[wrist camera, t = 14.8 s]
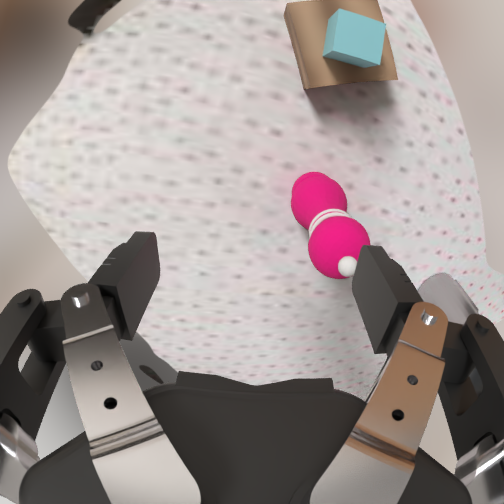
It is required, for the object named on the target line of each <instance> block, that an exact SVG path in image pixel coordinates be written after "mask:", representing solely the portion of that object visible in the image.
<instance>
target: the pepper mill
mask: <svg viewBox="0 0 504 504" xmlns="http://www.w3.org/2000/svg"><path fill="white" fill-rule="evenodd" d="M291 208H292V212H293V214H294V216H295V218H296V220H297V221H298V222H299V224H301V225H302V226H303V227H304V228H306V229H308V230H309V238H310V239H309V243H308V251H309V255H310V259H311V261H312V263H313V265H314V266H315V268H316V269H317V270H318V271H319V272H321V273H322V274H324V275H325V276H327V277H330V278H335V279H343V278H348V277H351V276H353V275H354V273H355V269H356V265H357V261H358V257H359V254H360V250H361V248H362V246H363V245H370V239H369V236H368V234H367V232H366V230H365V228H364V227H363V226H362V225H361V224H360V223H359V222H357V221H356V220H355V219H352V218H351V216H350V215H349V214H348V213H346V211H347V199H346V196H345V193H344V191H343V189H342V188H341V186H340V185H339V184H338V183H337V182H336V181H334V180H332V179H330V178H329V177H328V176H326V175H325V174H322V173H319V172H309V173H306V174H304V175H302V176H301V177H299V178H298V179H297V180H296V182H295V183H294V186H293V188H292V199H291Z"/></svg>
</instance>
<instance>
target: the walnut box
mask: <svg viewBox="0 0 504 504" xmlns="http://www.w3.org/2000/svg"><path fill="white" fill-rule="evenodd" d="M338 9H343V10H346V11H350V12H353V13H356V14H359V15H362V16H365V17H368V18H371V19H374V20H377V21H380V22H382V23H384V20H383V17H382V14H381V10H380V7H379V4H378V1H377V0H311V1H301V2H293V3H287V5H286V9H285V12H284V19H285V22H286V25H287V28H288V32H289V35H290V39H291V42H292V46H293V49H294V53H295V57H296V60H297V64H298V68H299V72H300V76H301V80H302V84H303V88H304V89H309V88H316V87H323V86H330V85H338V84H347V83H357V82H368V81H383V80H398V77H397V72H396V67H395V63H394V58H393V54H392V50H391V46H390V42H389V38H388V34H387V31H386V28H385V35H384V42H383V49H382V56H381V62H380V65H377V66H372V67H367V68H362V67H359V66H356V65H352V64H349V63H345V62H342V61H338V60H334V59H330V58H326V57H322V56H323V50H324V44H325V38H326V32H327V25H328V19H329V18H330V17H331V16H332V15H333V14H334V13H335V12H336V11H337V10H338Z"/></svg>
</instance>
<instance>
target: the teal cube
mask: <svg viewBox="0 0 504 504" xmlns="http://www.w3.org/2000/svg"><path fill="white" fill-rule="evenodd" d="M385 28H386V24H385V23H382V22H380V21H377V20H374V19H371V18H368V17H365V16H362V15H359V14H356V13H353V12H350V11H346V10H343V9H338V10H337V11H336V12H335V13H334V14H333V15H332V16H331V17H330V18H329V19H328V25H327V32H326V38H325V44H324V50H323V56H322V57H326V58H330V59H334V60H338V61H342V62H345V63H349V64H352V65H356V66H359V67H362V68H367V67H372V66H377V65H380V62H381V56H382V49H383V42H384V35H385Z"/></svg>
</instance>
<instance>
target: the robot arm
mask: <svg viewBox="0 0 504 504" xmlns="http://www.w3.org/2000/svg"><path fill="white" fill-rule="evenodd" d="M159 278H160V263H159V255H158V247H157V239H156V235H155V233H154V232H135V233H134V234H133V235H132V237H131V238H130V239H129V240H128V242H127V243H122V244H121V245H119V246H118V247H116V248H115V249H113V250H112V252H111V253H110V254H109V255H108V257H107V258H106V259H105V261H104V262H103V265H101V266H100V267H99V268H98V270H97V271H96V272H95V274H94V275H93V276H92V278H91V279H90V280H89V282H88V283H83V284H78V285H75V286H73V287H71V288H69V289H68V290H67V291H66V292H65V293H64V294H63V295H62V298H61V300H55V301H45V302H44V301H43V298H42V295H41V293H40V292H39V291H38V290H36V289H27V290H24V291H22V292H20V293H18V294H16V295H15V296H14V297H13V298H12V299H11V300H10V302H9V303H8V304H7V306H6V307H5V308H4V310H3V311H2V313H1V314H0V495H1V496H3V497H5V498H7V499H9V500H11V501H12V502H14V503H16V504H504V341H503V339H502V337H501V336H500V334H499V333H498V331H497V329H496V328H495V326H494V324H493V323H492V322H491V321H490V320H489V319H487V318H486V317H484V316H482V315H479V314H478V308H477V307H476V305H475V304H474V303H473V301H472V300H471V299H470V297H469V296H468V295H467V293H466V292H465V291H464V289H463V288H462V287H461V285H460V284H459V283H458V281H457V280H453V278H452V277H451V276H450V275H448V274H446V273H440V274H436V275H434V276H432V277H430V278H429V279H428V280H426V281H425V282H424V283H423V284H422V285H421V287H420V288H419V290H418V291H417V290H416V288H415V286H414V285H413V283H411V280H410V279H409V277H408V276H407V274H406V272H405V271H404V269H403V268H402V266H400V265H399V264H398V263H397V262H395V261H394V260H393V259H390V258H389V256H388V255H387V253H386V252H385V250H384V249H383V247H382V246H373V245H363V246H362V248H361V250H360V254H359V257H358V261H357V265H356V269H355V273H354V276H353V281H352V291H353V295H354V297H355V300H356V303H357V305H358V308H359V311H360V313H361V316H362V319H363V322H364V324H365V327H366V330H367V333H368V336H369V339H370V341H371V344H372V347H373V350H374V353H375V354H382V353H387V356H388V357H387V359H386V361H385V363H384V365H383V367H382V369H381V371H380V372H379V374H378V376H377V378H376V380H375V382H374V384H373V386H372V387H371V389H370V391H369V393H368V395H367V396H366V398H365V400H364V401H363V400H362V399H360V398H358V397H356V396H354V395H352V394H349V393H347V392H344V391H340V390H336V389H334V387H333V381H332V378H318V379H291V380H287V381H282V382H276V383H271V384H265V385H259V386H254V385H249V384H246V383H242V382H238V381H235V380H231V379H228V378H224V377H221V376H218V375H210V374H200V373H191V372H183V371H179V372H178V376H177V381H176V382H170V383H165V384H160V385H157V386H154V387H151V388H149V389H146V390H145V391H143V392H142V391H141V388H140V386H139V384H138V382H137V380H136V378H135V376H134V374H133V372H132V369H131V367H130V365H129V363H128V361H127V358H126V356H125V354H124V351H123V349H122V347H121V344H120V339H125V340H131V341H132V340H133V337H134V335H135V333H136V330H137V328H138V326H139V323H140V321H141V319H142V317H143V314H144V312H145V310H146V308H147V305H148V303H149V301H150V299H151V297H152V294H153V292H154V290H155V288H156V286H157V284H158V281H159ZM26 345H28V346H29V348H30V350H31V351H32V352H31V354H30V356H29V357H28V360H27V361H26V363H25V365H24V367H23V369H22V371H21V373H20V371H19V368H18V361H19V357H20V356H21V354H22V352H23V350H24V348H25V347H26ZM66 363H67V367H68V372H69V376H70V380H71V384H72V388H73V392H74V396H75V399H76V403H77V406H78V410H79V413H80V416H81V419H82V422H83V425H84V428H85V431H84V432H83V433H81V434H80V435H78V436H77V437H75V438H74V439H72V440H71V441H69V442H68V443H66V444H65V445H63V446H61V447H60V448H58V449H57V450H55V451H54V452H52V453H51V454H49V455H47V456H46V457H44V458H43V459H41V460H40V458H39V457H38V449H37V445H36V442H35V439H36V436H37V433H38V430H39V428H40V425H41V422H42V419H43V417H44V414H45V412H46V409H47V406H48V404H49V401H50V399H51V396H52V394H53V392H54V389H55V387H56V384H57V382H58V379H59V377H60V375H61V373H62V370H63V368H64V366H65V364H66ZM437 392H438V394H439V396H440V400H441V403H442V406H443V409H444V412H445V416H446V419H447V422H448V426H449V429H450V433H451V436H452V440H453V444H454V448H455V452H456V456H457V460H458V462H457V464H456V468H455V474H452V473H451V472H450V471H448V470H447V469H446V468H445V467H443V466H442V465H441V464H439V463H438V462H437V461H436V460H435V459H433V458H432V457H431V456H430V455H428V454H427V453H426V452H425V451H424V450H422V449H421V448H420V447H419V444H420V442H421V439H422V436H423V434H424V431H425V428H426V426H427V423H428V420H429V417H430V414H431V411H432V408H433V405H434V402H435V399H436V395H437Z"/></svg>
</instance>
